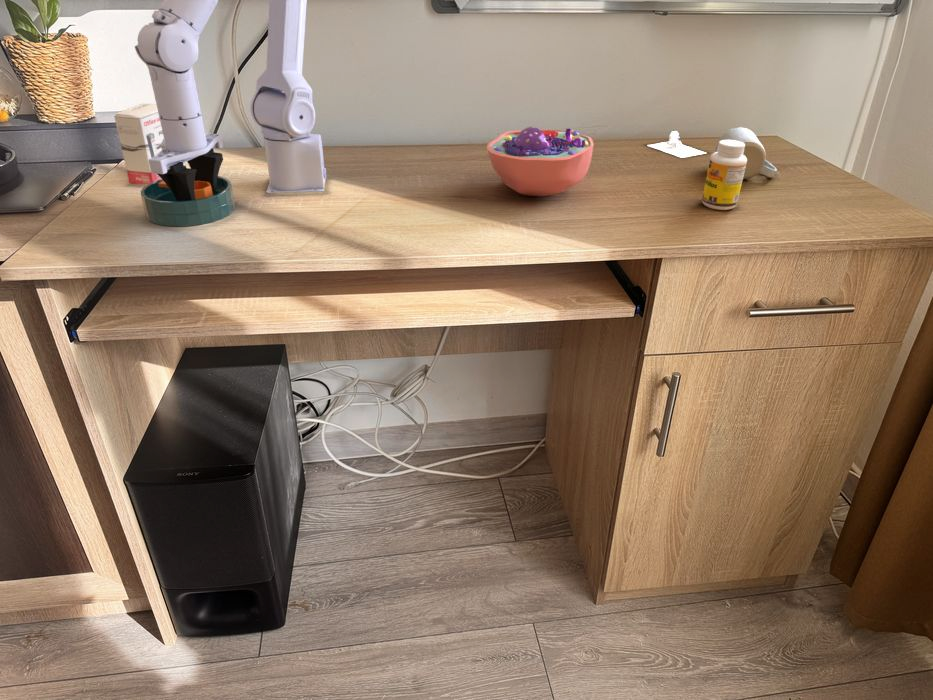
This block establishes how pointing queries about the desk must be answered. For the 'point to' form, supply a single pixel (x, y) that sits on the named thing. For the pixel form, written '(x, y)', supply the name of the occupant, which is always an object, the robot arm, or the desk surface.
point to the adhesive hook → (676, 147)
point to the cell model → (541, 160)
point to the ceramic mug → (750, 152)
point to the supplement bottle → (725, 175)
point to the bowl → (187, 205)
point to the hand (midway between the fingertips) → (199, 206)
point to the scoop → (197, 189)
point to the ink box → (140, 141)
